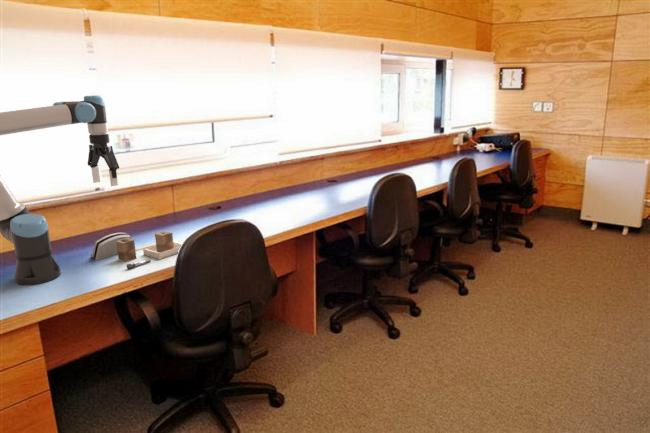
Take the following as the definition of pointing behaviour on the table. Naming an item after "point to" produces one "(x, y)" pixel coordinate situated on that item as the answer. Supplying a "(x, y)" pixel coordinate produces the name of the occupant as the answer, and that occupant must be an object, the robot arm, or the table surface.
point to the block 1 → (126, 249)
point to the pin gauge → (137, 264)
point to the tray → (160, 255)
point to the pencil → (144, 247)
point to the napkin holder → (107, 245)
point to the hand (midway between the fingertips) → (105, 184)
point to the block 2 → (164, 241)
